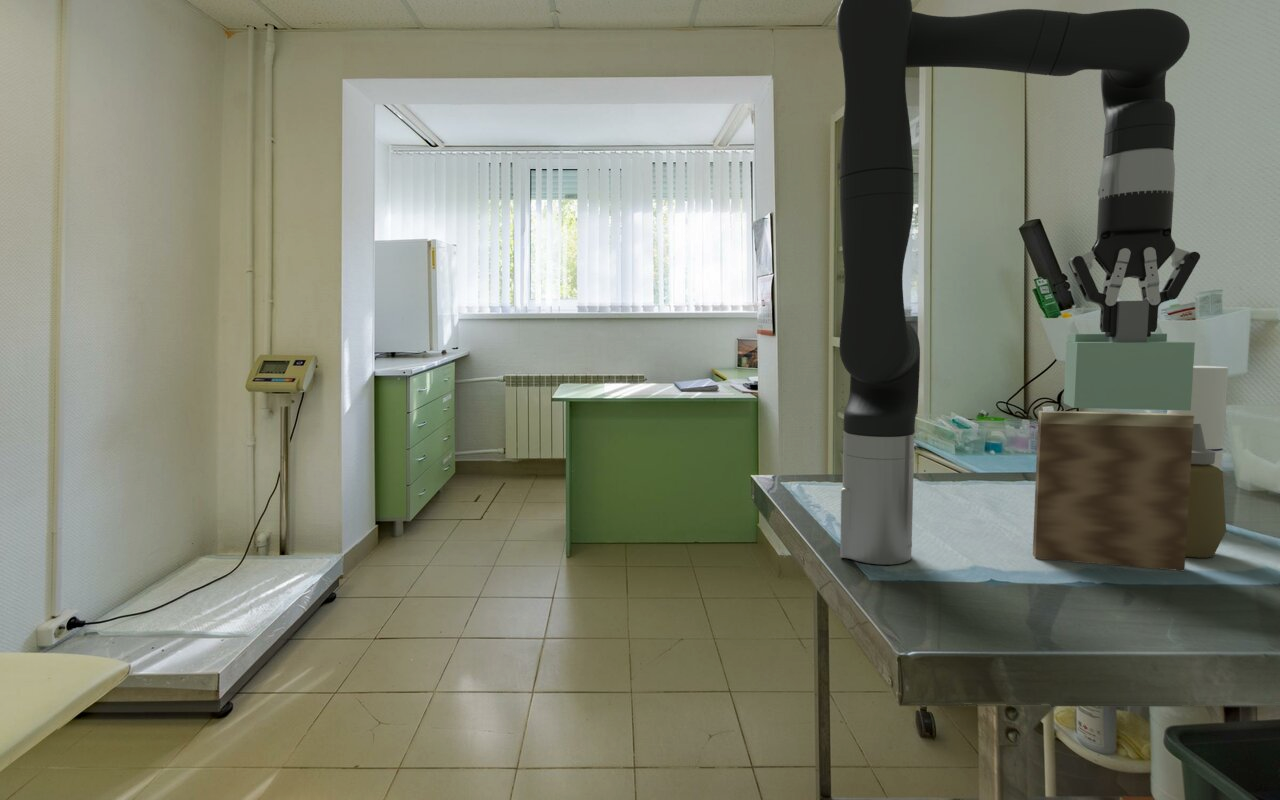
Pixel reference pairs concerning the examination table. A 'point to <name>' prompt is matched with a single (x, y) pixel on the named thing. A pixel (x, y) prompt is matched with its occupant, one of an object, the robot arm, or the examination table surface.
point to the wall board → (1113, 488)
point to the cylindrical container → (1209, 406)
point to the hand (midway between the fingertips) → (1127, 336)
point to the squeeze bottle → (1204, 501)
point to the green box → (1128, 366)
